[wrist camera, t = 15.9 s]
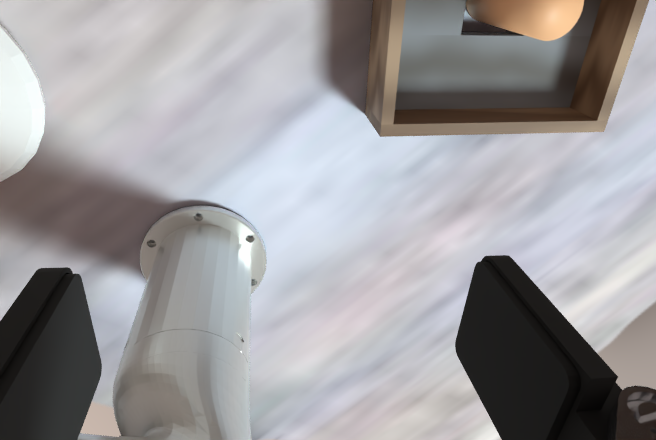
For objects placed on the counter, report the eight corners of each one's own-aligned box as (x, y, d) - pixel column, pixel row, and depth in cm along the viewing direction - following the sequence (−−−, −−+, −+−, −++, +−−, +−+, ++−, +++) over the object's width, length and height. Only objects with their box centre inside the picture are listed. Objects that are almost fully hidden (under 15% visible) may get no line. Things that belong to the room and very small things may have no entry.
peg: (505, 22, 40) (573, 41, 31) (461, 22, 39) (519, 40, 31) (516, -30, 38) (592, -26, 29) (470, -31, 37) (534, -27, 29)
